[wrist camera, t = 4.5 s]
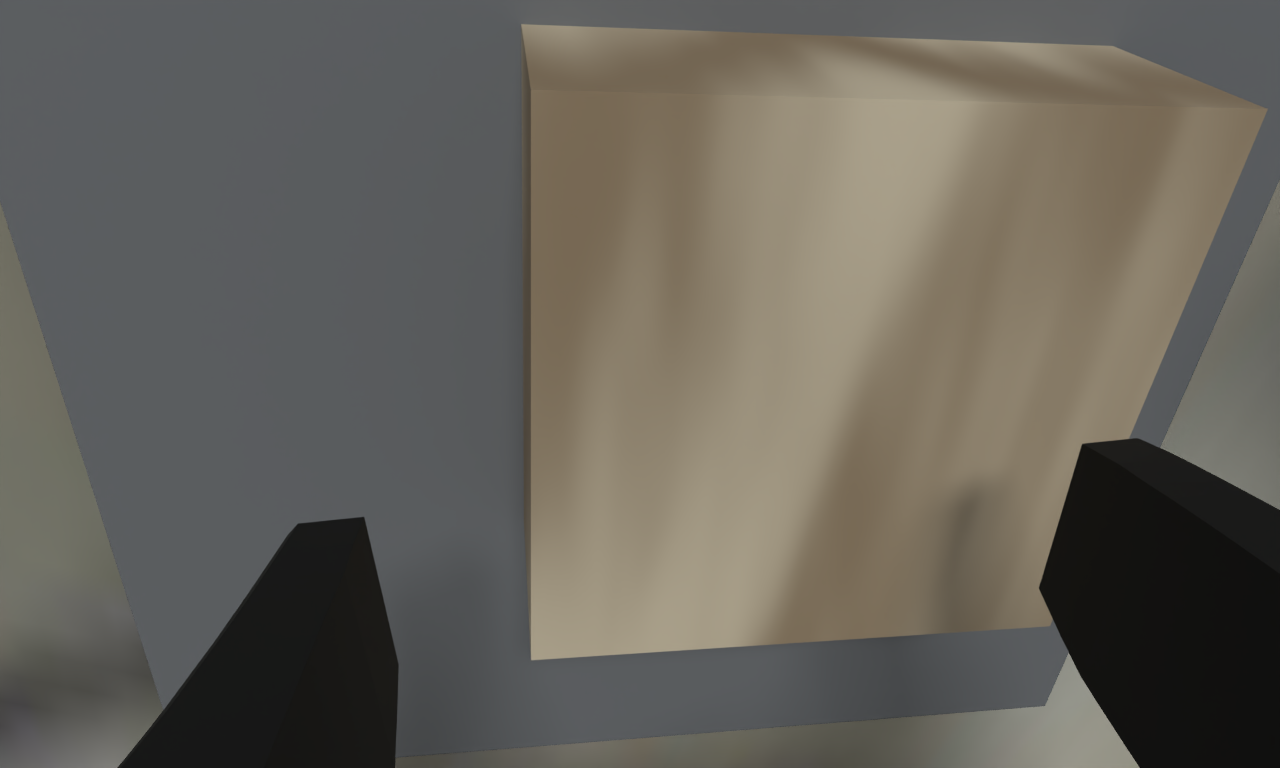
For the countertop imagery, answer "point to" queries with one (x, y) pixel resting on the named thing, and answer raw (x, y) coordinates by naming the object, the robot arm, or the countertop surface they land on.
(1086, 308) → the tan flat block
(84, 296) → the mat
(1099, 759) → the countertop surface
